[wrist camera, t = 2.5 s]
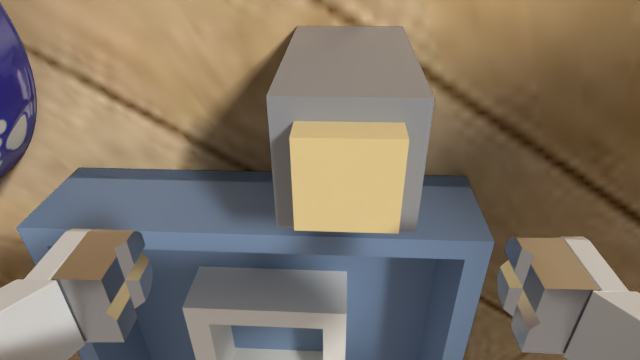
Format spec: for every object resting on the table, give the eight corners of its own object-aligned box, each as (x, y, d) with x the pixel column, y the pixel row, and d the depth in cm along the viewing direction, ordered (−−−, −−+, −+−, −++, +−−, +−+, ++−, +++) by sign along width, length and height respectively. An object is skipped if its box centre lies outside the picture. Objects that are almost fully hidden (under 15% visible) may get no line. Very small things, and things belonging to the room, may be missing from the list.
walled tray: (466, 176, 21) (494, 241, 17) (420, 403, 32) (430, 477, 28) (78, 167, 23) (16, 227, 18) (158, 389, 33) (131, 459, 29)
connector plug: (402, 26, 18) (441, 113, 10) (394, 123, 20) (420, 252, 13) (297, 25, 18) (259, 111, 11) (300, 121, 20) (271, 248, 13)
